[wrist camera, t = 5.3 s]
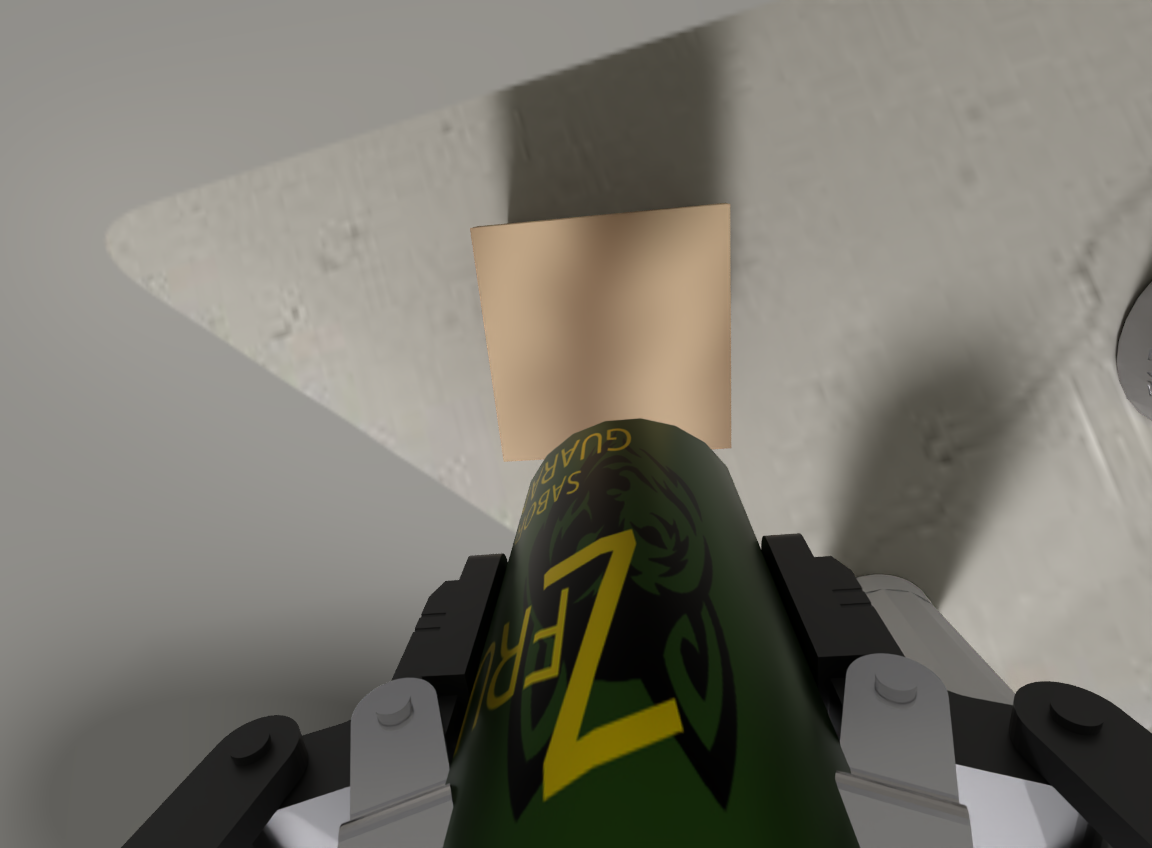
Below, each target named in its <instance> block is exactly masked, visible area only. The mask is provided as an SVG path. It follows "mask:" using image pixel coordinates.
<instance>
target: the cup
mask: <svg viewBox="0 0 1152 848" xmlns="http://www.w3.org/2000/svg"><path fill="white" fill-rule="evenodd" d="M856 579H857V580H858V582H859V584H860V585H861V587H862V590H863V591H864V592H865V593H866V595H867V596H868V598H869V600H870V601H871V605H872V606H874V608H875V609H876V611H877V612H878V614H879V616H880V617H881V619H882V620H883V622H884V624H885V625H886V627H887V628H888V630H889V632H890V633H891V635H892V636H893V638H894V640H895V641H896V643H897V644H898V646H899V648H900V649H901V651H902V652H903V654H904V656H905V657H906V658H909V659H912V660H914V661H916V662H918V663H920V664H922V665H924V666H925V667H927V668H928V669H930V670H931V671H932V672H934V673H935V674H936V675H937V676H938V677H939V678H940V679H941V681H942V682H943V683H944V685H945V687H946V689H947V690H948V691H951V692H954V693H957V694H960V695H963V696H968V697H972V698H977V699H983V700H988V701H993V702H999V703H1004V704H1010V705H1013V701H1014V696H1015V693H1014V692H1013V691H1012V690H1011V689H1010V688H1009V687H1008V685H1007V684H1006V683H1005V682H1004V681H1003V680H1002V679H1001V678H1000V677H999V676H998V675H997V674H996V673H995V671H994V670H993V669H992V668H991V667H990V666H989V665H988V664H987V663H986V662H985V661H984V660H983V659H982V657H981V656H980V655H979V654H978V653H977V652H976V651H975V650H974V649H973V648H972V647H971V646H970V645H969V643H968V642H967V641H966V640H965V639H964V638H963V637H962V636H961V635H960V634H959V633H958V632H957V631H956V629H955V628H954V627H953V626H952V625H951V624H950V623H949V622H948V621H947V620H946V619H945V618H944V617H943V615H942V614H941V613H940V612H939V611H938V610H937V609H936V608H935V607H934V605H933V604H932V603H931V601H930V600H929V599H928V597H927V596H926V595H925V594H924V592H923V591H922V590H921V589H920V588H919V587H917V586H916V585H915V584H913V583H912V582H910V581H908V580H906V579H903V578H900V577H897V576H892V575H884V574H875V575H866V576H861V577H858V578H856Z"/></svg>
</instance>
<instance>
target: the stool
mask: <svg viewBox="0 0 1152 848" xmlns="http://www.w3.org/2000/svg"><path fill="white" fill-rule="evenodd" d="M470 231H471V238H472V245H473V252H474V259H475V266H476V273H477V280H478V286H479V293H480V300H481V307H482V314H483V321H484V328H485V335H486V342H487V349H488V356H489V363H490V369H491V376H492V383H493V390H494V397H495V404H496V411H497V418H498V425H499V432H500V439H501V446H502V453H503V459H504V462H508V461H524V460H541V459H545V458H546V456H547V455H548V454H549V453H550V452H551V451H553V450H554V449H555V448H556V447H558V446H559V445H560V444H561V443H562V442H564V441H565V440H566V439H567V438H568V437H570V436H571V435H572V434H574V433H576V432H579V431H581V430H584V429H586V428H589V427H591V426H594V425H597V424H599V423H602V422H604V421H612V420H625V419H637V418H642V419H647V420H651V421H656V422H661V423H665V424H670V425H675V426H677V427H679V428H680V429H682V430H684V431H686V432H687V433H689V434H691V435H693V436H694V437H696V438H698V439H700V440H701V441H703V442H705V443H706V444H707V445H708V446H709V447H710V448H711V449H724V448H731V291H730V204H728V203H720V204H709V205H699V206H688V207H678V208H667V209H656V210H646V211H635V212H625V213H614V214H604V215H593V216H582V217H572V218H561V219H551V220H540V221H529V222H519V223H508V224H498V225H487V226H477V227H473V228H470Z"/></svg>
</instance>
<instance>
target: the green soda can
mask: <svg viewBox="0 0 1152 848" xmlns="http://www.w3.org/2000/svg"><path fill="white" fill-rule="evenodd" d="M836 770H839V771H843V772H847V773H850V774H851V770H850V768H849V765H848V763H847V760H846V758H845V755H844V753H843V751H842V748H841V746H840V741H839V739H838V736H837V734H836V731H835V729H834V726H833V724H832V721H831V719H830V717H829V714H828V712H827V709H826V707H825V704H824V702H823V700H822V697H821V695H820V692H819V690H818V687H817V685H816V682H815V680H814V678H813V675H812V673H811V670H810V668H809V665H808V663H807V660H806V658H805V656H804V653H803V651H802V648H801V646H800V643H799V641H798V639H797V636H796V634H795V631H794V629H793V626H792V624H791V621H790V619H789V617H788V614H787V612H786V609H785V607H784V604H783V602H782V600H781V597H780V595H779V592H778V590H777V587H776V585H775V582H774V580H773V578H772V575H771V573H770V570H769V568H768V565H767V563H766V560H765V558H764V556H763V553H762V551H761V548H760V546H759V543H758V541H757V539H756V536H755V534H754V531H753V529H752V526H751V524H750V521H749V519H748V517H747V514H746V512H745V509H744V507H743V504H742V502H741V500H740V497H739V495H738V492H737V490H736V487H735V485H734V482H733V480H732V478H731V475H730V473H729V470H728V468H727V466H726V465H725V464H724V463H723V462H722V461H721V460H720V459H719V457H718V456H717V455H716V454H715V453H714V452H713V451H712V450H711V448H710V447H709V446H708V445H707V444H706V443H705V442H703V441H701V440H700V439H698V438H696V437H694V436H693V435H691V434H689V433H687V432H686V431H684V430H682V429H680V428H679V427H677V426H675V425H670V424H665V423H661V422H656V421H651V420H647V419H642V418H637V419H625V420H612V421H604V422H602V423H599V424H597V425H594V426H591V427H589V428H586V429H584V430H581V431H579V432H576V433H574V434H572V435H571V436H570V437H568V438H567V439H566V440H565V441H564V442H562V443H561V444H560V445H559V446H558V447H556V448H555V449H554V450H553V451H551V452H550V453H549V454H548V455H547V456H546V458H545V459H544V461H543V463H542V464H541V466H540V468H539V469H538V471H537V472H536V474H535V476H534V477H533V479H532V481H531V483H530V486H529V490H528V494H527V497H526V501H525V504H524V508H523V511H522V515H521V518H520V522H519V525H518V529H517V532H516V536H515V540H514V543H513V547H512V550H511V554H510V557H509V561H508V564H507V568H506V571H505V575H504V578H503V582H502V586H501V589H500V593H499V596H498V600H497V603H496V607H495V610H494V614H493V617H492V621H491V624H490V628H489V632H488V635H487V639H486V642H485V646H484V649H483V653H482V656H481V660H480V663H479V667H478V670H477V674H476V678H475V681H474V685H473V688H472V692H471V695H470V699H469V702H468V706H467V709H466V713H465V716H464V720H463V724H462V727H461V731H460V734H459V738H458V741H457V745H456V748H455V752H454V755H453V759H452V762H451V766H450V770H449V773H448V777H447V780H446V784H445V785H447V784H449V783H451V789H452V799H453V810H452V814H451V817H450V821H449V825H448V829H447V833H446V837H445V841H444V844H443V848H860V845H859V843H858V840H857V837H856V835H855V832H854V829H853V827H852V824H851V821H850V819H849V816H848V813H847V811H846V808H845V805H844V803H843V800H842V797H841V795H840V792H839V789H838V787H837V784H836V780H835V774H836Z"/></svg>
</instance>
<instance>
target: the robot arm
mask: <svg viewBox="0 0 1152 848" xmlns="http://www.w3.org/2000/svg"><path fill="white" fill-rule="evenodd" d="M1117 368H1118V375H1119V381H1120V384H1121V386H1122V388H1123V390H1124V393H1125V395H1126V397H1127V399H1128V400H1129V401H1130V402H1131V403H1132V405H1133V406H1134V407H1135V408H1136V409H1137V410H1138V412H1140V413H1141V414H1143V415H1144V416H1146V417H1147V418H1149V419H1150V420H1152V281H1151V283H1150V284H1149V285H1148V286H1147V288H1146V289H1145V290H1144V291H1143V293H1142V294H1141V295H1140V296H1139V298H1138V299H1137V301H1136V303H1135V304H1134V306H1133V308H1132V310H1131V312H1130V313H1129V315H1128V317H1127V319H1126V321H1125V324H1124V327H1123V330H1122V333H1121V336H1120V339H1119V345H1118V354H1117ZM761 551H762V553H763V556H764V558H765V560H766V563H767V565H768V568H769V570H770V573H771V575H772V578H773V580H774V582H775V585H776V587H777V590H778V592H779V595H780V597H781V600H782V602H783V604H784V607H785V609H786V612H787V614H788V617H789V619H790V621H791V624H792V626H793V629H794V631H795V634H796V636H797V639H798V641H799V643H800V646H801V648H802V651H803V653H804V656H805V658H806V660H807V663H808V665H809V668H810V670H811V673H812V675H813V678H814V680H815V682H816V685H817V687H818V690H819V692H820V695H821V697H822V700H823V702H824V704H825V707H826V709H827V712H828V714H829V717H830V719H831V721H832V724H833V726H834V729H835V731H836V734H837V736H838V739H839V741H840V746H841V748H842V751H843V753H844V755H845V758H846V760H847V763H848V765H849V768H850V770H851V774H850V773H847V772H843V771H839V770H836V774H835V780H836V784H837V787H838V789H839V792H840V795H841V797H842V800H843V803H844V805H845V808H846V811H847V813H848V816H849V819H850V821H851V824H852V827H853V829H854V832H855V835H856V837H857V840H858V843H859V845H860V848H1152V733H1150V732H1149V731H1148V730H1147V729H1145V728H1144V727H1143V726H1141V725H1140V724H1139V723H1138V722H1136V721H1135V720H1134V719H1133V718H1131V717H1130V716H1129V715H1127V714H1126V713H1125V712H1124V711H1122V710H1121V709H1120V708H1118V707H1117V706H1116V705H1114V704H1113V703H1111V702H1110V701H1108V700H1106V699H1105V698H1103V697H1101V696H1099V695H1097V694H1095V693H1093V692H1090V691H1088V690H1085V689H1083V688H1080V687H1076V686H1073V685H1070V684H1065V683H1060V682H1050V681H1046V682H1034V683H1030V684H1027V685H1025V686H1023V687H1021V688H1020V689H1019V690H1018V691H1017V692H1016V694H1015V696H1014V701H1013V705H1010V704H1004V703H999V702H993V701H988V700H983V699H977V698H972V697H968V696H963V695H960V694H957V693H954V692H951V691H948V690H947V689H946V687H945V685H944V683H943V682H942V681H941V679H940V678H939V677H938V676H937V675H936V674H935V673H934V672H932V671H931V670H930V669H928V668H927V667H925V666H924V665H922V664H920V663H918V662H916V661H914V660H912V659H909V658H906V657H905V656H904V654H903V652H902V651H901V649H900V648H899V646H898V644H897V643H896V641H895V640H894V638H893V636H892V635H891V633H890V632H889V630H888V628H887V627H886V625H885V624H884V622H883V620H882V619H881V617H880V616H879V614H878V612H877V611H876V609H875V608H874V606H872V605H871V601H870V600H869V598H868V596H867V595H866V593H865V592H864V591H863V590H862V587H861V585H860V584H859V582H858V580H857V579H856V577H855V576H854V574H853V572H852V571H851V570H850V569H849V568H847V567H846V566H844V565H843V564H842V563H840V562H839V561H837V560H836V559H834V558H833V557H832V556H826V557H814V556H813V554H812V552H811V551H810V549H809V547H808V545H807V543H806V541H805V540H804V538H803V536H802V535H801V534H800V533H798V534H784V535H769V536H763V537H762V543H761ZM507 564H508V562H507V558H506V556H505V554H489V555H475V556H469V557H468V560H467V562H466V564H465V567H464V569H463V572H462V575H461V577H460V579H459V580H454V581H445V582H444V583H443V584H442V585H441V586H440V587H439V588H438V589H437V590H436V591H435V592H434V593H433V594H432V595H431V596H430V597H429V598H428V601H427V603H426V605H425V607H424V609H423V612H422V614H421V615H422V617H421V618H419V621H418V623H417V625H416V627H415V632H413V634H412V636H411V638H410V641H409V643H408V645H407V647H406V649H405V652H404V654H403V656H402V658H401V660H400V663H399V665H398V667H397V669H396V671H395V674H394V676H393V678H392V680H391V681H390V682H387V683H385V684H383V685H381V686H379V687H377V688H375V689H374V690H372V691H371V692H370V693H368V694H367V695H366V696H365V697H364V698H363V699H362V700H361V701H360V702H359V704H358V705H357V706H356V708H355V710H354V712H353V715H352V718H351V720H349V721H347V722H344V723H342V724H339V725H336V726H332V727H329V728H326V729H323V730H319V731H316V732H313V733H310V734H306V735H303V736H302V734H301V732H300V729H299V726H298V724H297V723H296V722H295V721H294V720H293V719H291V718H289V717H286V716H280V715H274V716H267V717H262V718H259V719H256V720H254V721H251V722H249V723H246V724H244V725H243V726H241V727H239V728H237V729H236V730H234V731H233V732H231V733H230V734H229V735H228V736H226V737H225V738H224V739H223V740H222V741H221V742H220V743H219V744H218V745H217V746H216V747H215V748H214V749H213V750H212V751H211V752H210V753H209V754H208V755H207V756H206V757H205V758H204V760H203V761H202V762H201V763H200V764H199V765H198V766H197V767H196V768H195V769H194V770H193V771H192V772H191V773H190V774H189V776H188V777H187V778H186V779H185V780H184V781H183V782H182V783H181V784H180V785H179V786H178V787H177V789H175V791H174V792H173V793H172V794H171V795H170V796H169V797H168V798H167V799H166V800H165V801H164V802H163V803H162V805H161V806H160V807H159V808H158V809H157V810H156V811H155V812H154V813H153V814H152V815H151V817H149V818H148V819H147V821H146V822H145V823H144V824H143V825H142V826H141V827H140V828H139V829H138V830H137V831H136V832H135V833H134V835H133V836H132V837H131V838H130V839H129V840H128V841H127V842H126V843H125V844H124V845H123V846H122V847H121V848H443V844H444V841H445V837H446V833H447V829H448V825H449V821H450V817H451V814H452V810H453V799H452V789H451V783H449V784H447V785H445V784H446V780H447V777H448V773H449V770H450V766H451V762H452V759H453V755H454V752H455V748H456V745H457V741H458V738H459V734H460V731H461V727H462V724H463V720H464V716H465V713H466V709H467V706H468V702H469V699H470V695H471V692H472V688H473V685H474V681H475V678H476V674H477V670H478V667H479V663H480V660H481V656H482V653H483V649H484V646H485V642H486V639H487V635H488V632H489V628H490V624H491V621H492V617H493V614H494V610H495V607H496V603H497V600H498V596H499V593H500V589H501V586H502V582H503V578H504V575H505V571H506V568H507Z"/></svg>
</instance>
